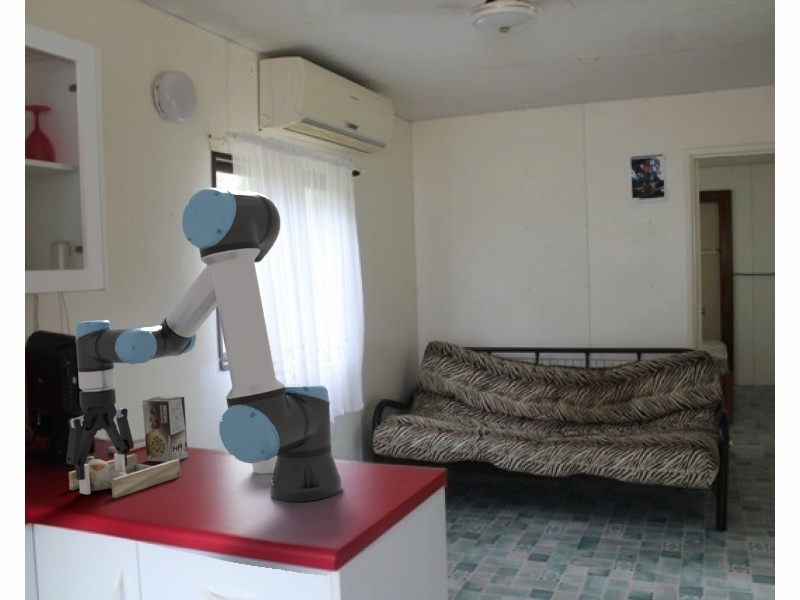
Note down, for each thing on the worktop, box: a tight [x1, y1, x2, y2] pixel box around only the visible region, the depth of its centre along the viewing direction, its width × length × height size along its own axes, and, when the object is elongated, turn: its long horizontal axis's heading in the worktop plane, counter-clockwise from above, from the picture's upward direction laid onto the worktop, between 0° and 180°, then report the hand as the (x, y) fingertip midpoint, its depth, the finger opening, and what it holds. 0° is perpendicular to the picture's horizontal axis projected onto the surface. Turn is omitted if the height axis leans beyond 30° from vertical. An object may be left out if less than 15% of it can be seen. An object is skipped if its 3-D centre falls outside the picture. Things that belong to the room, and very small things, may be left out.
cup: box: [251, 456, 277, 475], centre depth 176 cm, size 9×9×12 cm
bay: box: [68, 453, 181, 499], centre depth 171 cm, size 16×18×4 cm
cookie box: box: [141, 396, 189, 463], centre depth 192 cm, size 9×6×16 cm
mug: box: [87, 458, 128, 492], centre depth 166 cm, size 8×10×10 cm
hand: (103, 487), depth 166 cm, fingers closed on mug, 9 cm apart
